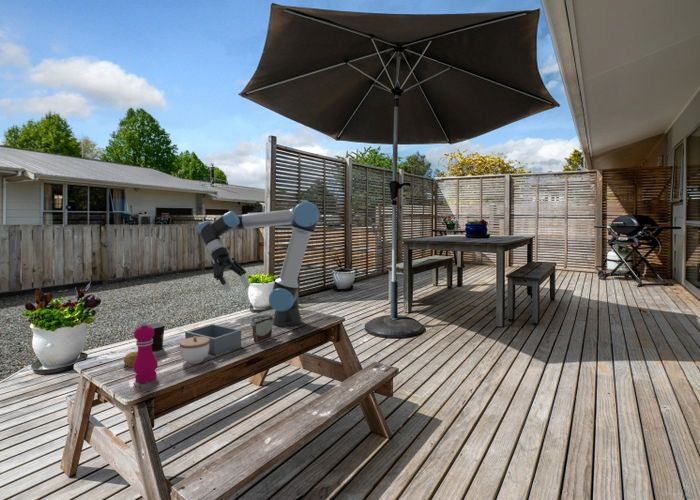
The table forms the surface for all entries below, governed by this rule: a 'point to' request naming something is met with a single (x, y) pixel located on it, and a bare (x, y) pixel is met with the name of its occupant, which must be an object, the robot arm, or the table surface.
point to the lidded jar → (195, 349)
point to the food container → (262, 327)
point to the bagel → (131, 358)
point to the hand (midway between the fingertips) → (238, 288)
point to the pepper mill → (144, 354)
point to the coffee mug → (157, 335)
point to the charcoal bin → (218, 338)
